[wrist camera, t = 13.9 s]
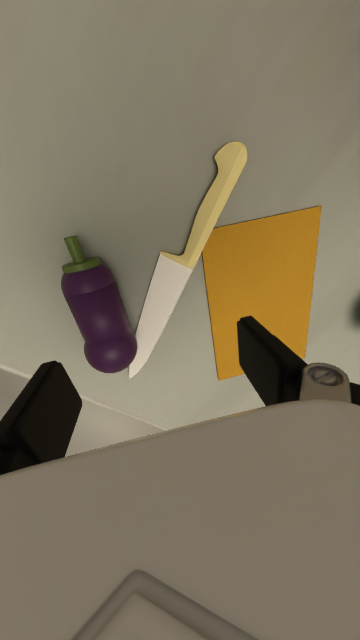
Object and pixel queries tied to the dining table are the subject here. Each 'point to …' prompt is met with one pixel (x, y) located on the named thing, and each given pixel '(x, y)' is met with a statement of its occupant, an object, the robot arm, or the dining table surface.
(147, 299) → the knife
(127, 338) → the eggplant
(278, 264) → the dish cloth
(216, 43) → the dining table surface
